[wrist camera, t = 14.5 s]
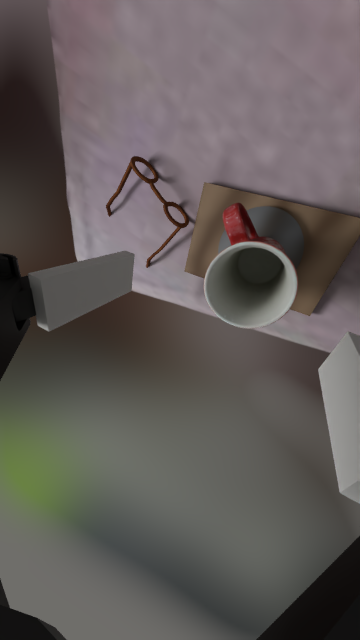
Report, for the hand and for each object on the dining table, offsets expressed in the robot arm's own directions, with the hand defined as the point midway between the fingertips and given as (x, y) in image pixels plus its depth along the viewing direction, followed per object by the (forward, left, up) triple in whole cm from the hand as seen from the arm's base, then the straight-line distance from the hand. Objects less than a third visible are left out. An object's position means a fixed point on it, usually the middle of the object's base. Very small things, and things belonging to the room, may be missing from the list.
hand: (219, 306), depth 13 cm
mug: (0, 0, -23) cm, 23 cm away
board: (0, 0, -25) cm, 25 cm away
